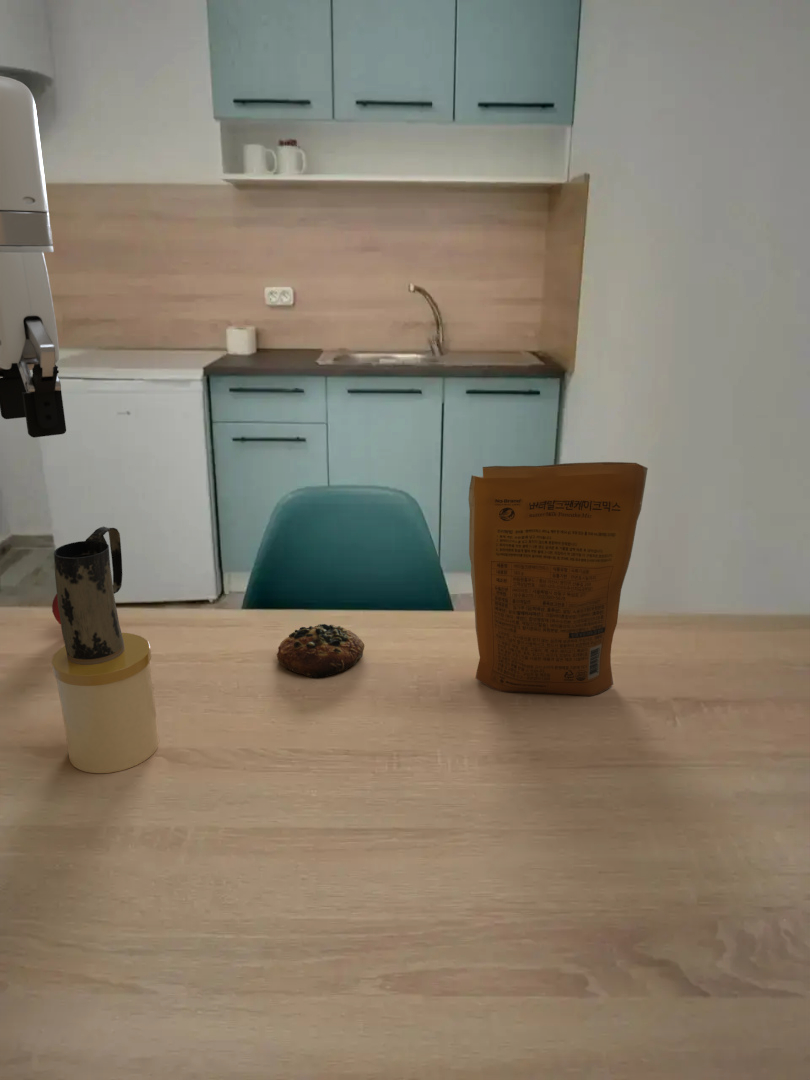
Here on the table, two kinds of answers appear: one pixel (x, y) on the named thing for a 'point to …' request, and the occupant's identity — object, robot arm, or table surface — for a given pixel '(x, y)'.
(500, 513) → the pancake mix bag
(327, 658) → the bread roll
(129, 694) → the jar
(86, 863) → the table surface
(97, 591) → the mug
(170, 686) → the table surface
